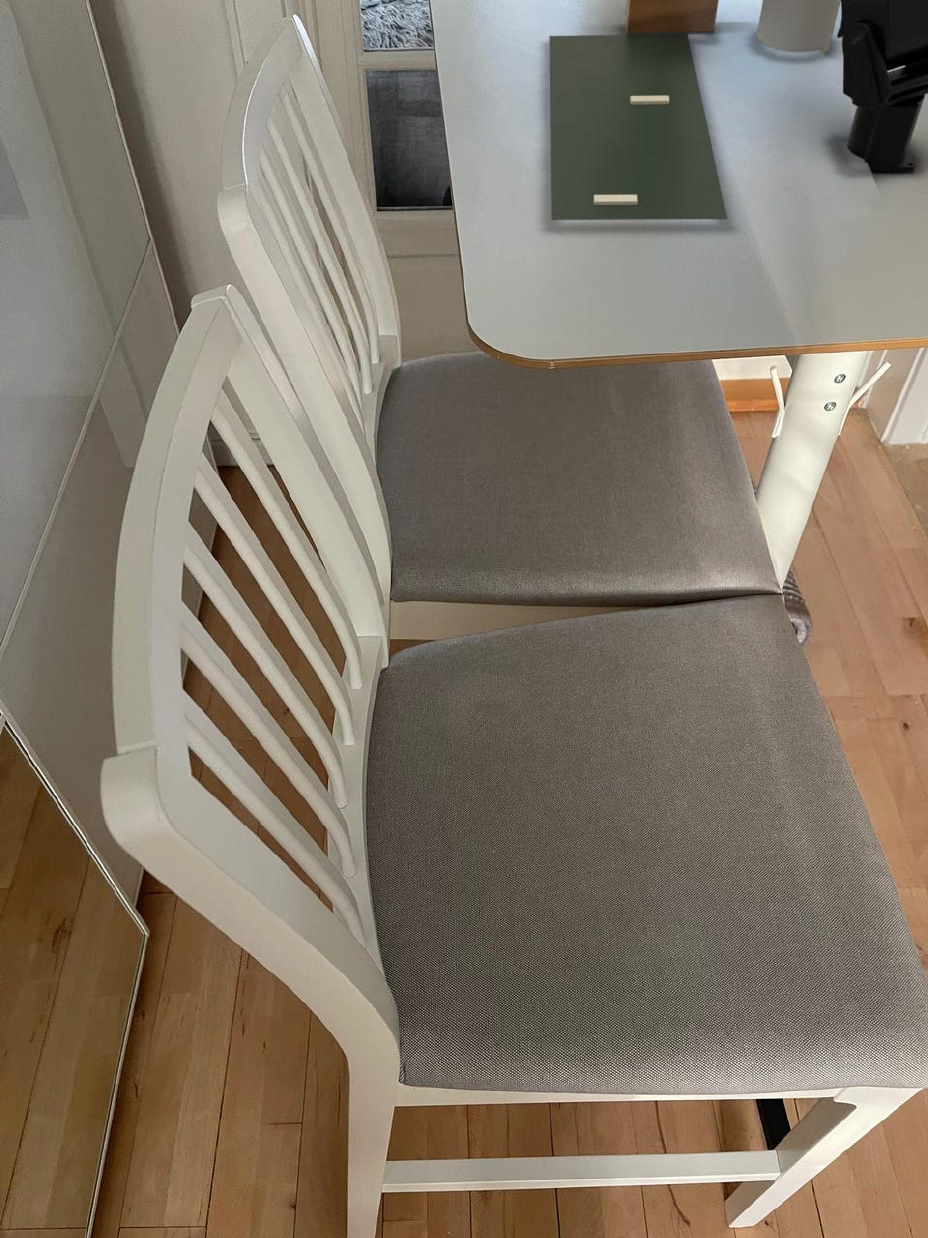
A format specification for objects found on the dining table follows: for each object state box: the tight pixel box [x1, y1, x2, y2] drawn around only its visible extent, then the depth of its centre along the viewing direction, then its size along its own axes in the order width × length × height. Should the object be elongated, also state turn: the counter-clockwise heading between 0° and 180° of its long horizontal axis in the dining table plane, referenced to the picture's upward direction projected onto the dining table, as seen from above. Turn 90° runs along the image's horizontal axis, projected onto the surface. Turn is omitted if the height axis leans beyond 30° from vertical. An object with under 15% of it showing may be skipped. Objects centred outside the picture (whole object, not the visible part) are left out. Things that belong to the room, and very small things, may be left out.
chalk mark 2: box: [630, 96, 669, 105], centre depth 104 cm, size 1×4×1 cm, turn 88°
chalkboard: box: [548, 34, 728, 221], centre depth 103 cm, size 40×16×1 cm, turn 177°
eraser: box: [624, 0, 719, 35], centre depth 114 cm, size 4×10×5 cm, turn 87°
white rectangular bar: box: [594, 195, 638, 205], centre depth 92 cm, size 1×4×1 cm, turn 87°
